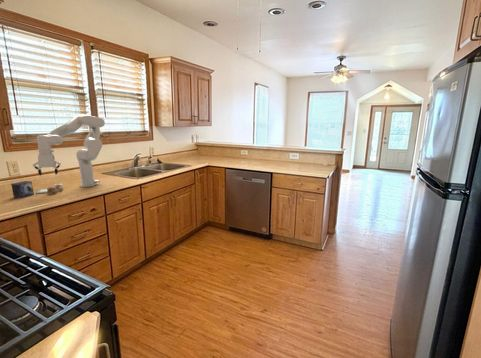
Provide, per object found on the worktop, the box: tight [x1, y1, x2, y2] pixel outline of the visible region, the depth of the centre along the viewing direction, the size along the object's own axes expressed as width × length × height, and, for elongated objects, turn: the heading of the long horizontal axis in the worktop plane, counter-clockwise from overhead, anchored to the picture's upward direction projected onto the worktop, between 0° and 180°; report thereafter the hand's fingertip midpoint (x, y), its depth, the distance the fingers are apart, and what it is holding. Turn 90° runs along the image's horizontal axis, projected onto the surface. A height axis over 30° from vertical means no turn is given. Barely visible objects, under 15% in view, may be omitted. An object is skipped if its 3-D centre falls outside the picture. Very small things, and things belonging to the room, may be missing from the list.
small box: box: [10, 180, 35, 199], centre depth 193 cm, size 11×6×10 cm, turn 164°
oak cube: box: [53, 183, 64, 192], centre depth 209 cm, size 5×5×5 cm
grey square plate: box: [36, 188, 48, 195], centre depth 205 cm, size 10×10×1 cm
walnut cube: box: [46, 186, 58, 196], centre depth 199 cm, size 5×5×5 cm
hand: (48, 174), depth 196 cm, fingers open, 9 cm apart
